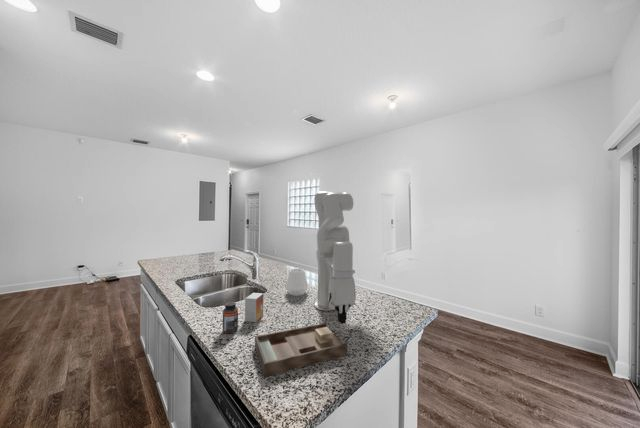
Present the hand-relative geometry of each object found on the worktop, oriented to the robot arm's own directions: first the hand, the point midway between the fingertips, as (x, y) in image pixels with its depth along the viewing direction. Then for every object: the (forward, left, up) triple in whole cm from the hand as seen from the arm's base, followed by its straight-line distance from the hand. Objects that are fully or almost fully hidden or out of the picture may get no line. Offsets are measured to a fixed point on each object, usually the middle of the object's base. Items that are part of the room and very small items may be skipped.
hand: (341, 322), depth 94 cm
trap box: (+16, -1, -8) cm, 18 cm away
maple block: (+7, -1, -5) cm, 9 cm away
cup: (-2, -59, -8) cm, 59 cm away
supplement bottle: (+38, -26, -8) cm, 47 cm away
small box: (+27, -34, -8) cm, 44 cm away
